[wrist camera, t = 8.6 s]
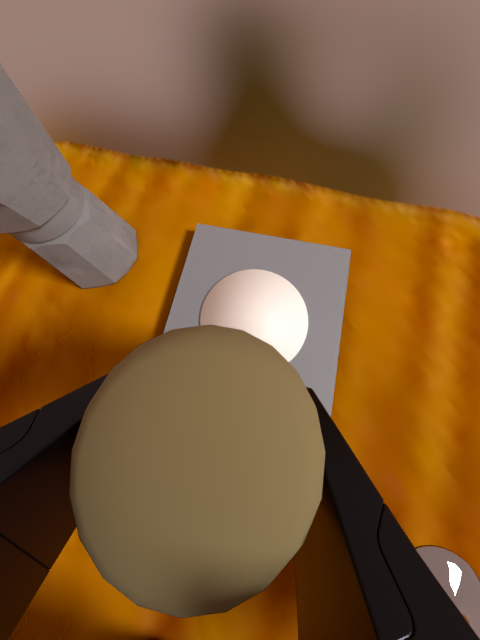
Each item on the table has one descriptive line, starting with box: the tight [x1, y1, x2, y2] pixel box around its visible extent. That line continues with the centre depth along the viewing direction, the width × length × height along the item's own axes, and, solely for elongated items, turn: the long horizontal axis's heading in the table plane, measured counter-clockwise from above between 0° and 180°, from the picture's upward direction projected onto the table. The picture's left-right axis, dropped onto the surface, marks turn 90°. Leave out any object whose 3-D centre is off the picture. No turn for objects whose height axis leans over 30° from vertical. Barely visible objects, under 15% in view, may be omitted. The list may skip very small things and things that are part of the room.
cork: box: [69, 325, 325, 618], centre depth 9 cm, size 6×6×11 cm
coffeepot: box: [0, 64, 138, 289], centre depth 16 cm, size 15×9×18 cm, turn 32°
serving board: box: [163, 223, 351, 417], centre depth 21 cm, size 18×16×2 cm
